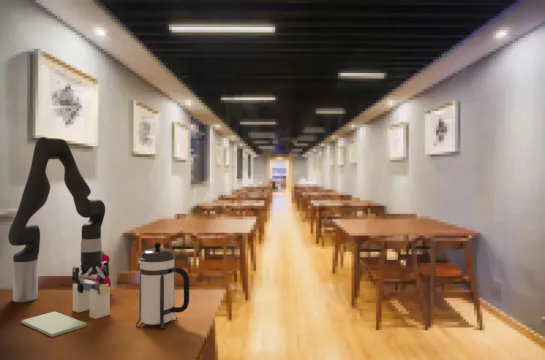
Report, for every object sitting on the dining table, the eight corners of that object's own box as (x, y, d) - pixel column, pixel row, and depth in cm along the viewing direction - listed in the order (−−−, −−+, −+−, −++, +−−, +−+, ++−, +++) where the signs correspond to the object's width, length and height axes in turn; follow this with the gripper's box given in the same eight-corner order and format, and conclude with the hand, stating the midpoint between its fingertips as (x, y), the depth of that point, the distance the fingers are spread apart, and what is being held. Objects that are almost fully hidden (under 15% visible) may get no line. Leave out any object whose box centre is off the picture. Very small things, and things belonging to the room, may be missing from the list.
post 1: (72, 310, 157) (72, 284, 157) (86, 306, 162) (87, 281, 162) (78, 312, 155) (78, 285, 155) (92, 308, 160) (92, 282, 160)
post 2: (89, 316, 150) (89, 289, 150) (103, 312, 155) (103, 285, 155) (95, 318, 148) (95, 290, 148) (109, 314, 153) (109, 287, 153)
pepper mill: (104, 296, 175) (104, 252, 175) (90, 295, 177) (90, 251, 177) (114, 292, 182) (114, 249, 182) (100, 291, 184) (100, 249, 184)
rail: (74, 287, 159) (74, 279, 159) (82, 285, 161) (82, 277, 161) (100, 295, 148) (100, 286, 148) (108, 292, 151) (108, 284, 151)
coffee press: (139, 335, 133) (140, 247, 133) (132, 320, 147) (133, 240, 147) (189, 326, 141) (190, 243, 141) (178, 313, 155) (179, 237, 155)
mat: (21, 323, 143) (21, 320, 143) (54, 313, 153) (54, 311, 153) (52, 337, 131) (52, 334, 131) (86, 326, 141) (86, 323, 141)
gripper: (102, 246, 163) (102, 284, 163) (68, 251, 151) (68, 293, 151) (113, 248, 159) (112, 287, 159) (79, 253, 147) (78, 296, 147)
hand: (91, 290), depth 155 cm, fingers open, 8 cm apart
